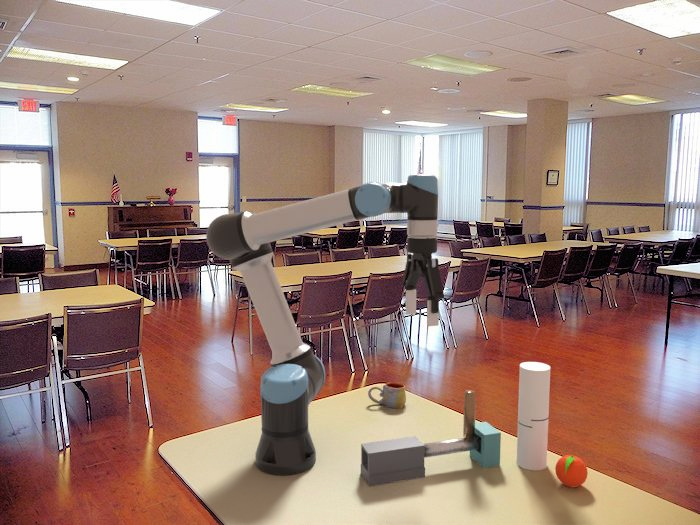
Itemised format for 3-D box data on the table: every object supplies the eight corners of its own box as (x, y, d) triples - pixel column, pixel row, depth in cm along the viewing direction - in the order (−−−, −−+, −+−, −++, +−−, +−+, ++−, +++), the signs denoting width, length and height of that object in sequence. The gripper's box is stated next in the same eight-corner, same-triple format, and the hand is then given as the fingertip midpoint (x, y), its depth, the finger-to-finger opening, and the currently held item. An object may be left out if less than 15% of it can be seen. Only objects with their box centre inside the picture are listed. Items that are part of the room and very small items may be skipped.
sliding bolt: (417, 454, 141) (417, 395, 139) (482, 444, 146) (484, 387, 144) (422, 460, 138) (423, 400, 136) (489, 450, 143) (490, 392, 141)
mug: (406, 401, 185) (406, 381, 185) (405, 409, 179) (405, 389, 178) (369, 399, 187) (369, 380, 186) (366, 407, 181) (366, 387, 180)
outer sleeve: (360, 473, 139) (360, 442, 138) (414, 464, 143) (414, 435, 142) (369, 486, 133) (369, 454, 132) (425, 477, 137) (425, 446, 136)
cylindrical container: (548, 471, 139) (552, 371, 136) (517, 469, 140) (521, 369, 137) (544, 458, 146) (548, 362, 143) (515, 455, 147) (518, 361, 144)
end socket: (469, 455, 148) (470, 423, 147) (485, 453, 149) (486, 421, 148) (483, 468, 141) (484, 435, 140) (499, 465, 142) (500, 432, 141)
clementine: (580, 498, 127) (581, 468, 126) (548, 488, 131) (550, 459, 130) (590, 483, 133) (592, 454, 132) (560, 474, 138) (561, 446, 137)
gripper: (459, 240, 134) (457, 329, 137) (416, 232, 157) (415, 308, 160) (429, 241, 132) (428, 332, 134) (390, 233, 155) (390, 310, 158)
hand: (421, 319), depth 147 cm, fingers open, 13 cm apart
